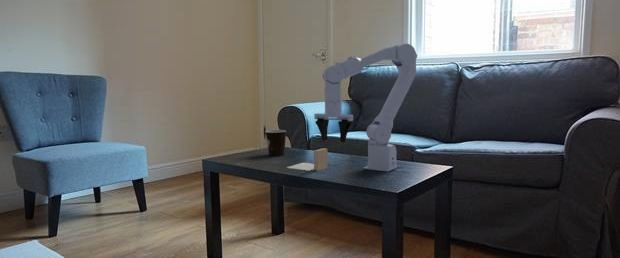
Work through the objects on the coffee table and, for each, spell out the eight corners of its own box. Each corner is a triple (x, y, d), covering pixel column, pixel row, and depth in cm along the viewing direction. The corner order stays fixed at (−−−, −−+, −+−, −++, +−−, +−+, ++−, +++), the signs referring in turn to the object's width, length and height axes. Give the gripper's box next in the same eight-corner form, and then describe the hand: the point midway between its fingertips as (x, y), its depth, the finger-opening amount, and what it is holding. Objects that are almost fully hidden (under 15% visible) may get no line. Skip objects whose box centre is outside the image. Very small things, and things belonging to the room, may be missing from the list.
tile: (327, 167, 163) (327, 148, 162) (318, 171, 158) (317, 151, 157) (323, 167, 164) (322, 148, 163) (313, 170, 159) (313, 150, 158)
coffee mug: (267, 153, 195) (266, 130, 194) (287, 152, 195) (286, 129, 194) (264, 158, 183) (263, 133, 182) (285, 157, 183) (285, 133, 182)
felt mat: (325, 166, 166) (325, 165, 166) (309, 171, 158) (309, 170, 157) (302, 163, 171) (302, 162, 171) (286, 168, 163) (286, 167, 163)
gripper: (309, 101, 156) (309, 141, 157) (345, 102, 147) (345, 144, 149) (320, 100, 161) (321, 138, 163) (356, 101, 153) (356, 141, 155)
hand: (333, 141), depth 156 cm, fingers open, 7 cm apart
